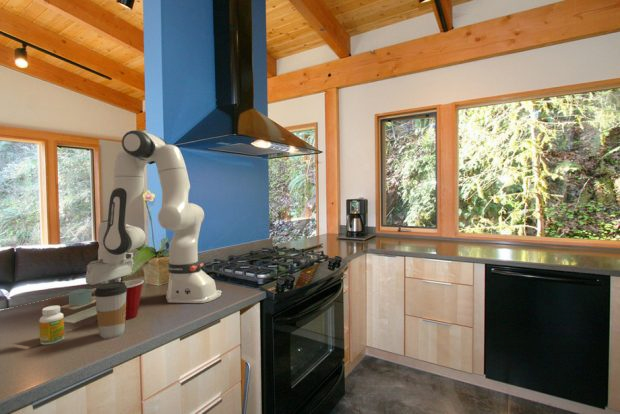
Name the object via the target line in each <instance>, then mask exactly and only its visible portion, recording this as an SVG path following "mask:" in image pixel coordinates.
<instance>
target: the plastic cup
mask: <svg viewBox="0 0 620 414" xmlns="http://www.w3.org/2000/svg"><path fill="white" fill-rule="evenodd" d="M123 282H124V283H125V286H127V291H126V317H125V321H126V320H131V319H134V318H136V317H137V316H138V314H139V307H140V302H141V294H142V289H143V285H144V282H145V281H144V279H132V280H124V281H123Z"/></svg>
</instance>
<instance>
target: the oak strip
mask: <svg viewBox="0 0 620 414" xmlns="http://www.w3.org/2000/svg"><path fill="white" fill-rule="evenodd" d="M93 304H96V298H95V295H93V296H92V302H91V303H88V304H85V305H82V306H70V305H69V303H68V304H65V305H62V306H60V309H70V310H78V309H80V308H83V307H86V306H89V305H93Z"/></svg>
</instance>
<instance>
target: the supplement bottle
mask: <svg viewBox="0 0 620 414" xmlns="http://www.w3.org/2000/svg"><path fill="white" fill-rule="evenodd" d="M60 307H61V306H60V305H49V306H46V307H43V308H42V309H41V311H42V312H41V314H42V316H41V317H40V318H39V320H38V321H39V322H38V323H39V343H40V344H41V345H44V346H46V345H52V344H57V343H59V342H61V341H62V340H64V339H65V322H64V317H65V316H64V313H62V312H61V308H60Z"/></svg>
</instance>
